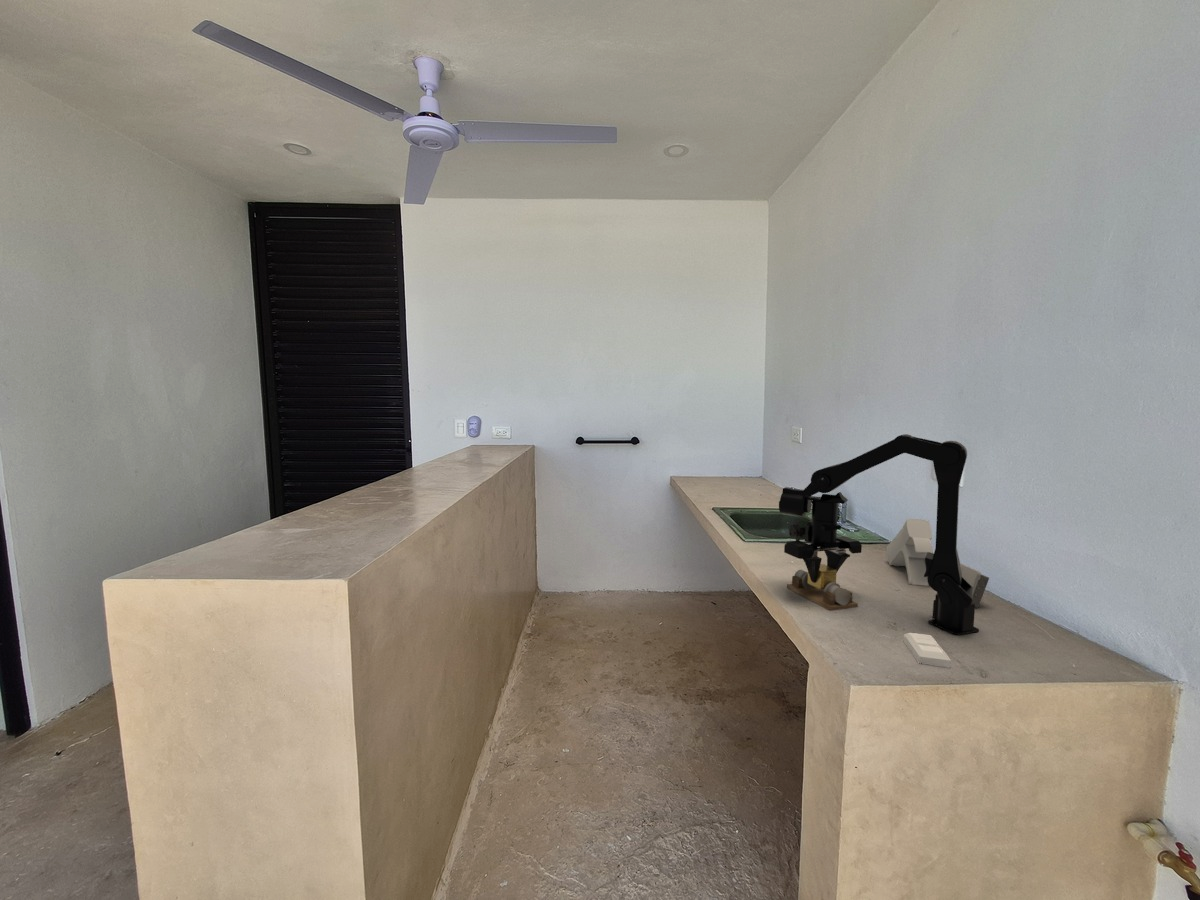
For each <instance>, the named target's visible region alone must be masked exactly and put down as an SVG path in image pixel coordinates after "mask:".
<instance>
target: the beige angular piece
mask: <svg viewBox="0 0 1200 900" xmlns="http://www.w3.org/2000/svg"><path fill="white" fill-rule="evenodd" d="M932 539H933V532H932V527H931V524H930V522H929V520H928V519H927V520H926V519H921V518H920V519H919V518H907V519H906V520H905V521H904V524H903V526H902V528H901V529H900V530H899V531H898V532H897V534H896V535H895V537H894V538H893V539H892V540H891V541H890V543H889V544H888V545H887V547H886V555H887V556H886V557H887V561H888V565H889V566H892V565H894V566H893V567H899V566H905V567H904V568H906V574H907V582H908V585H911V584H912V585H914V586H921V587H922V586H923V587H930V586H929V584H928V576H927V577H924V574H925V571H926V564H925V557H926V554H927V552H930V553H933V554H934V549H933V545H932V542H931V540H932Z"/></svg>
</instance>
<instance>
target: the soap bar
mask: <svg viewBox="0 0 1200 900" xmlns="http://www.w3.org/2000/svg"><path fill="white" fill-rule="evenodd" d="M903 642H904V644H905V645H907V646H906V647H907V648H908V650H909V652H910V653H911V654H912V655H914V656H913V657H914V658H916V659H915V660H916V661H917V663H918V662H919V663H920V664H919V663H918V664H919V665H925V664H929V665H928V666H932V665H934V666H933V667H939V668H941V667H942V668H948V669H951V665H952V660H951V659H950V657H949V656H948V654H947V653H946V652H945V650H943V648H942V647H941V645H940V644H938V642H937V641H936V639H935V638H934V636H932V635H930V634H924V633H915V632H907V633H903ZM921 663H922V664H921Z"/></svg>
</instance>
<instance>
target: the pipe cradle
mask: <svg viewBox="0 0 1200 900" xmlns="http://www.w3.org/2000/svg"><path fill="white" fill-rule="evenodd" d="M807 582H808V571H806V570H803V569H797V570H796V571H795V574H794V575H792V577H791V583H790V584H789V583H788V584H786V588H787V589H788V590H791V591H792V592H794V593H796V594H798V595H801V596H803V598H805V599H807V600H810V601H811V602H813V603H815V604H817V605H819V606H821V607H823V608H824V609H826V610H827V611H836V610H837V611H838V610H844V609H851V608H856V607H857V608H858V602H856V601H854V600H853V592H852V591H850V590H848V589H845V588H842V587H841V585H840V584H839V583H837V582H836V583H835V582H831V583H829V584H827V586H826V587H825V589H821V590H820V589H818V588H816V587H814V586H812V585H810V584H808V583H807Z"/></svg>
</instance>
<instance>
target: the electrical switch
mask: <svg viewBox="0 0 1200 900" xmlns="http://www.w3.org/2000/svg"><path fill="white" fill-rule="evenodd" d="M960 566H961V572H962V577H963V578H964V579H965V580H966V581H967V582H968V583H969V584H970V585H971V586H972V587H973V599H972V603H975V609H978V608H979V606H980V604H981V601H982V598H983V596H984V592H985V591H986V588H987V585H988V582H989V580H990V577H988V576H986V575H984V574H982V573H981V571H980V570H977V569H975V568H972V567H970V566H967V565H965V564H964V563H961V562H960Z"/></svg>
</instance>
